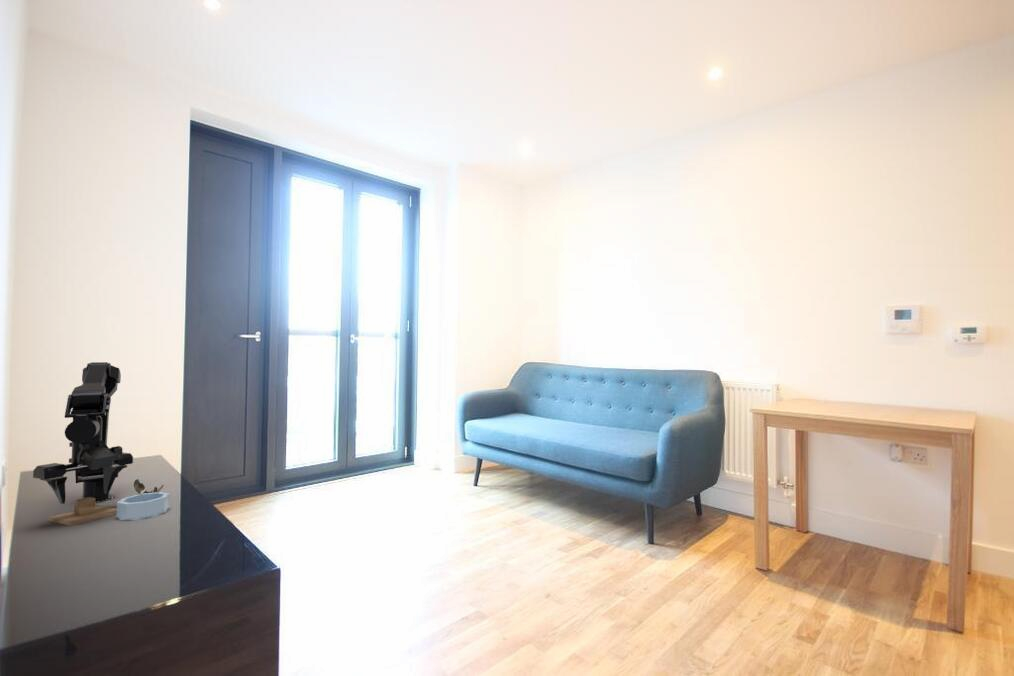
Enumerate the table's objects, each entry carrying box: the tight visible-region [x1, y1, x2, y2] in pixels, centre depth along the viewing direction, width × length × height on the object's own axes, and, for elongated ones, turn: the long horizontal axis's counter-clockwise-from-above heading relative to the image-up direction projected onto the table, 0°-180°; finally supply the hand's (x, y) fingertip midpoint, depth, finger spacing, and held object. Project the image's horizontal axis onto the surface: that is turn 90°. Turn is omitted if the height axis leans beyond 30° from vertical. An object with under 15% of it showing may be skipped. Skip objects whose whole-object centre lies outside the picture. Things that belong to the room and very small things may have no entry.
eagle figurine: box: [133, 478, 165, 495], centre depth 131 cm, size 8×7×9 cm
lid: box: [48, 497, 117, 527], centre depth 118 cm, size 10×10×4 cm
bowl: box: [116, 491, 170, 521], centre depth 120 cm, size 10×10×4 cm
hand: (85, 498), depth 118 cm, fingers open, 9 cm apart
